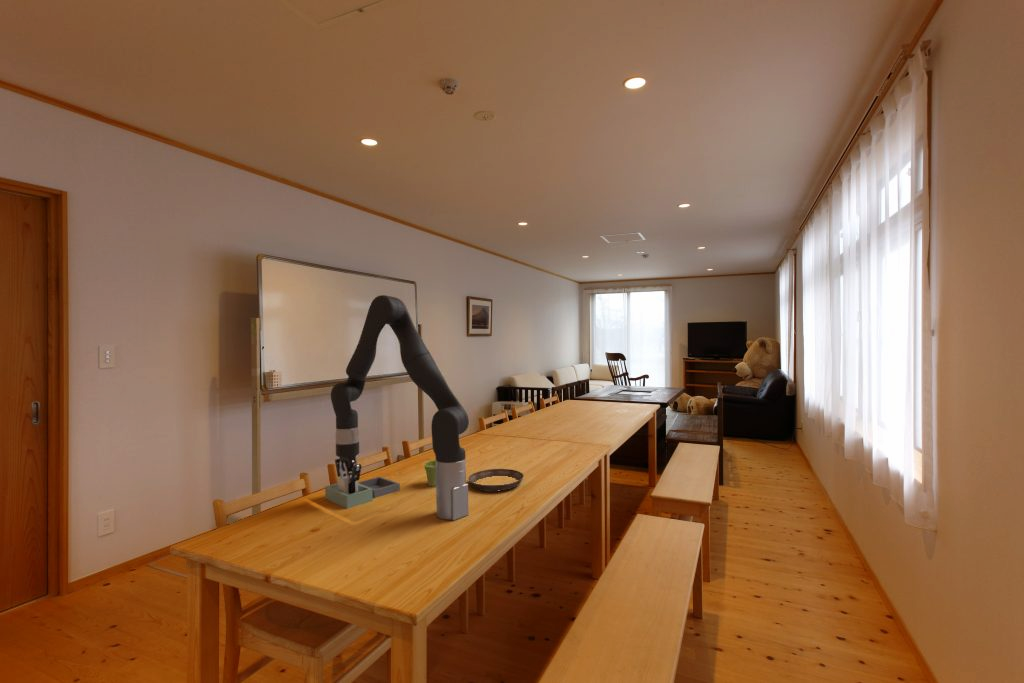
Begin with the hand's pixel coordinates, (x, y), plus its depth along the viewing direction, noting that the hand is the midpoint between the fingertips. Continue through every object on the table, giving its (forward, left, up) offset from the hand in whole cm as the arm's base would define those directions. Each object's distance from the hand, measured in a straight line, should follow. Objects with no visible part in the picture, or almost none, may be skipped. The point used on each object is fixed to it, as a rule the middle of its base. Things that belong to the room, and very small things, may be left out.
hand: (348, 491), depth 158 cm
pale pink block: (0, 0, 0) cm, 0 cm away
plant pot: (-10, -30, -4) cm, 31 cm away
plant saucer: (-25, -46, -4) cm, 52 cm away
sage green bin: (0, 0, -4) cm, 4 cm away
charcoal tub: (+1, -12, -4) cm, 12 cm away
